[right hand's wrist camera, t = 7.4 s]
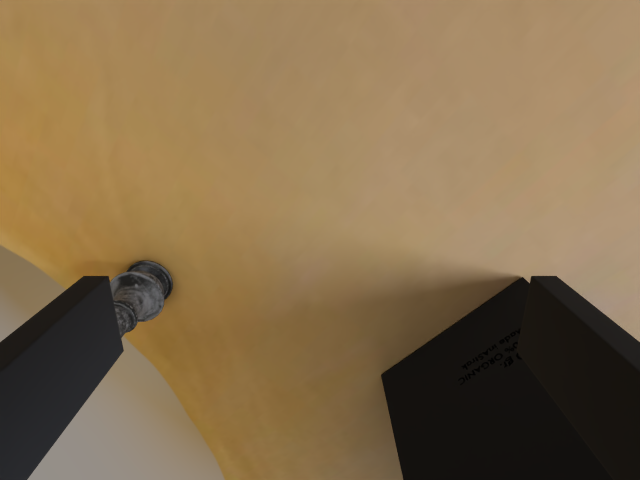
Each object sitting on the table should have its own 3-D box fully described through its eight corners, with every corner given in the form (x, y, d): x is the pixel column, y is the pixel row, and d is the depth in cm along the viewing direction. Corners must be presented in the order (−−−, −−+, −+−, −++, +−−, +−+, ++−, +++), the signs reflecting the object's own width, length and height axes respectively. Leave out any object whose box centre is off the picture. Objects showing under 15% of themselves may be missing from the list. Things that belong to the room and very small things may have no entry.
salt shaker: (152, 314, 47) (99, 385, 36) (111, 280, 46) (43, 343, 34) (186, 284, 46) (142, 347, 34) (145, 248, 44) (85, 302, 33)
